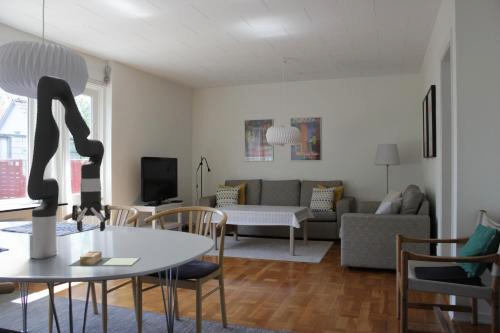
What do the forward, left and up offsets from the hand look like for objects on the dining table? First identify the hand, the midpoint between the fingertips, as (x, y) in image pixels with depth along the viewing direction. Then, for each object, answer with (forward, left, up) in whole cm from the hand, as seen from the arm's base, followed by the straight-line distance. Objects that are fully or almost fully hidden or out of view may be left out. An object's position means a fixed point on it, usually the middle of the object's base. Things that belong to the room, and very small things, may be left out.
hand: (91, 231), depth 164 cm
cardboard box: (0, 0, -12) cm, 12 cm away
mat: (+6, 0, -13) cm, 14 cm away
